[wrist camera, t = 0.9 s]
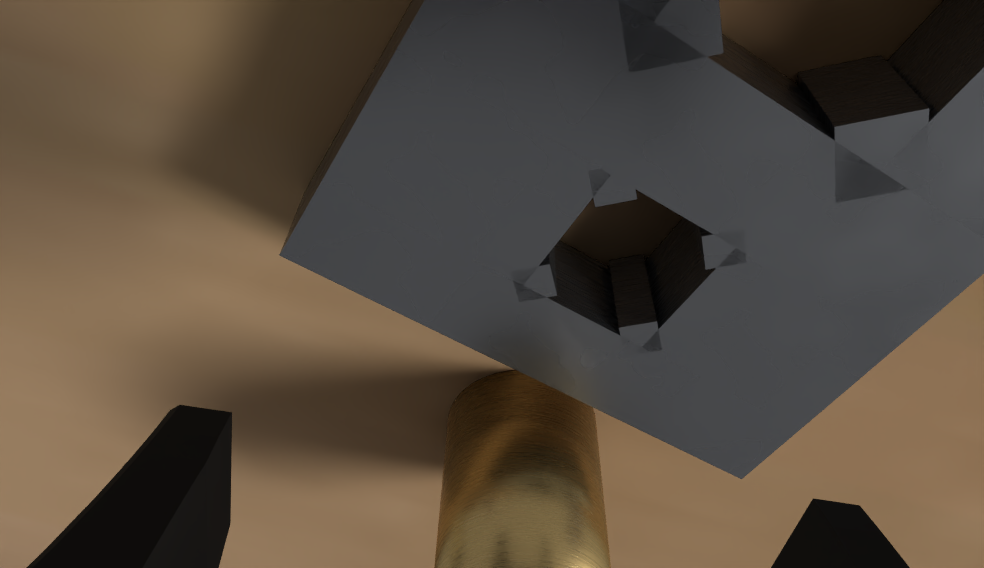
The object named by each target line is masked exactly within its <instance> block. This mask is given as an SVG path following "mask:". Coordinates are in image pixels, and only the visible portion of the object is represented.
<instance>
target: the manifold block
mask: <svg viewBox="0 0 984 568" xmlns="http://www.w3.org/2000/svg"><path fill="white" fill-rule="evenodd" d="M636 190H638V191H640V192H641V193H643V194H645V195H646V196H648V197H650V198H652V199H653V200H655V201H657V202H658V203H660V204H662V205H664V206H665V207H667V208H669V209H670V210H672V211H674V212H676V213H677V214H679V215H681V216H682V217H684V218H683V219H682V220H681V221H680V222H679V223H678V225H677V226H676V227H675V228H674V229H673V230H672V231H671V233H670V234H669V235H668V236H667V237H666V238H665V239H664V241H663V242H662V243H661V244H660V245H659V246H658V247H657V248H656V250H655V251H654V252H653V253H652V254H651V255H650V256H649V258H648V259H647V260H646V261H644V256H643V255H637V256H632V257H626V258H621V259H615V260H609V265H610V268H609V267H607V266H605V265H603V264H602V263H600V262H598V261H596V260H594V259H592V258H591V257H589V256H587V255H585V254H583V253H581V252H580V251H578V250H576V249H574V248H572V247H570V246H569V245H567V244H565V243H563V242H561V241H559V240H560V239H561V237H562V236H563V235H564V233H565V232H566V231H567V230H568V228H569V227H570V226H571V225H572V223H573V222H574V221H575V220H576V218H577V217H578V216H579V215H580V213H581V212H582V211H583V210H584V208H585V207H586V206H587V204H588V203H589V202H590V201H591V199H592V198H593V199H594V204H595V207H599V206H604V205H609V204H615V203H620V202H625V201H631V200H636V199H637V195H636ZM280 256H282V257H284V258H286V259H288V260H290V261H292V262H294V263H296V264H298V265H300V266H302V267H304V268H306V269H309V270H311V271H313V272H315V273H317V274H319V275H321V276H323V277H325V278H327V279H329V280H331V281H333V282H335V283H337V284H340V285H342V286H344V287H346V288H348V289H350V290H352V291H354V292H356V293H358V294H360V295H362V296H364V297H366V298H368V299H371V300H373V301H375V302H377V303H379V304H381V305H383V306H385V307H387V308H389V309H391V310H393V311H395V312H397V313H399V314H402V315H404V316H406V317H408V318H410V319H412V320H414V321H416V322H418V323H420V324H422V325H424V326H426V327H428V328H430V329H432V330H435V331H437V332H439V333H441V334H443V335H445V336H447V337H449V338H451V339H453V340H455V341H457V342H459V343H461V344H463V345H466V346H468V347H470V348H472V349H474V350H476V351H478V352H480V353H482V354H484V355H486V356H488V357H490V358H492V359H494V360H497V361H499V362H501V363H503V364H505V365H507V366H509V367H511V368H513V369H515V370H517V371H519V372H521V373H523V374H525V375H527V376H530V377H532V378H534V379H536V380H538V381H540V382H542V383H544V384H546V385H548V386H550V387H552V388H554V389H556V390H558V391H561V392H563V393H565V394H567V395H569V396H571V397H573V398H575V399H577V400H579V401H581V402H583V403H585V404H587V405H589V406H592V407H594V408H596V409H598V410H600V411H602V412H604V413H606V414H608V415H610V416H612V417H614V418H616V419H618V420H620V421H622V422H625V423H627V424H629V425H631V426H633V427H635V428H637V429H639V430H641V431H643V432H645V433H647V434H649V435H651V436H653V437H656V438H658V439H660V440H662V441H664V442H666V443H668V444H670V445H672V446H674V447H676V448H678V449H680V450H682V451H684V452H687V453H689V454H691V455H693V456H695V457H697V458H699V459H701V460H703V461H705V462H707V463H709V464H711V465H713V466H715V467H717V468H720V469H722V470H724V471H726V472H728V473H730V474H732V475H734V476H736V477H738V478H740V479H742V478H744V477H745V476H746V475H747V474H748V473H749V472H751V471H752V470H753V469H754V468H755V467H756V466H758V465H759V464H760V463H761V462H762V461H764V460H765V459H766V458H767V457H768V456H769V455H771V454H772V453H773V452H774V451H775V450H776V449H778V448H779V447H780V446H781V445H782V444H784V443H785V442H786V441H787V440H788V439H789V438H791V437H792V436H793V435H794V434H795V433H796V432H798V431H799V430H800V429H801V428H802V427H804V426H805V425H806V424H807V423H808V422H809V421H811V420H812V419H813V418H814V417H815V416H816V415H818V414H819V413H820V412H821V411H822V410H824V409H825V408H826V407H827V406H828V405H829V404H831V403H832V402H833V401H834V400H835V399H836V398H838V397H839V396H840V395H841V394H842V393H844V392H845V391H846V390H847V389H848V388H849V387H851V386H852V385H853V384H854V383H855V382H856V381H858V380H859V379H860V378H861V377H862V376H864V375H865V374H866V373H867V372H868V371H869V370H871V369H872V368H873V367H874V366H875V365H876V364H878V363H879V362H880V361H881V360H882V359H884V358H885V357H886V356H887V355H888V354H889V353H891V352H892V351H893V350H894V349H895V348H896V347H898V346H899V345H900V344H901V343H902V342H904V341H905V340H906V339H907V338H908V337H909V336H911V335H912V334H913V333H914V332H915V331H916V330H918V329H919V328H920V327H921V326H922V325H924V324H925V323H926V322H927V321H928V320H929V319H931V318H932V317H933V316H934V315H935V314H936V313H938V312H939V311H940V310H941V309H942V308H944V307H945V306H946V305H947V304H948V303H949V302H951V301H952V300H953V299H954V298H955V297H956V296H958V295H959V294H960V293H961V292H962V291H964V290H965V289H966V288H967V287H968V286H969V285H971V284H972V283H973V282H974V281H975V280H976V279H978V278H979V277H980V276H981V275H982V274H984V0H944V1H943V2H942V3H941V4H940V5H939V6H938V7H937V8H936V9H935V10H934V11H933V12H932V13H931V15H930V16H929V17H928V18H927V19H926V20H925V21H924V22H923V23H922V24H921V25H920V26H919V28H918V29H917V30H916V31H915V32H914V33H913V34H912V35H911V36H910V37H909V38H908V39H907V40H906V42H905V43H904V44H903V45H902V46H901V47H900V48H899V49H898V50H897V51H896V52H895V53H894V54H893V56H892V57H891V58H890V59H889V60H888V61H886V60H885V59H884V58H883V57H882V56H881V55H880V56H875V57H870V58H865V59H860V60H855V61H851V62H846V63H841V64H836V65H831V66H826V67H822V68H817V69H812V70H807V71H802V72H798V84H796V83H795V82H793V81H792V80H790V79H789V78H787V77H786V76H784V75H783V74H781V73H780V72H778V71H777V70H775V69H774V68H772V67H771V66H769V65H768V64H766V63H765V62H763V61H762V60H760V59H759V58H757V57H756V56H754V55H753V54H751V53H750V52H748V51H747V50H745V49H744V48H742V47H741V46H739V45H738V44H736V43H735V42H733V41H732V40H730V39H729V38H727V37H726V36H724V35H723V34H722V30H721V19H720V7H719V0H412V2H411V4H410V6H409V7H408V9H407V11H406V13H405V14H404V16H403V18H402V20H401V22H400V23H399V25H398V27H397V29H396V31H395V32H394V34H393V36H392V38H391V39H390V41H389V43H388V45H387V47H386V48H385V50H384V52H383V54H382V55H381V57H380V59H379V61H378V63H377V64H376V66H375V68H374V70H373V72H372V73H371V75H370V77H369V79H368V80H367V82H366V84H365V86H364V88H363V89H362V91H361V93H360V95H359V96H358V98H357V100H356V102H355V104H354V105H353V107H352V109H351V111H350V113H349V114H348V116H347V118H346V120H345V121H344V123H343V125H342V127H341V129H340V130H339V132H338V134H337V136H336V137H335V139H334V141H333V143H332V145H331V146H330V148H329V150H328V152H327V154H326V155H325V157H324V159H323V161H322V162H321V164H320V166H319V168H318V170H317V171H316V173H315V175H314V177H313V178H312V180H311V182H310V184H309V186H308V187H307V189H306V191H305V193H304V195H303V198H302V200H301V203H300V205H299V208H298V210H297V213H296V215H295V218H294V220H293V223H292V225H291V228H290V230H289V233H288V235H287V238H286V240H285V243H284V245H283V248H282V250H281V253H280Z"/></svg>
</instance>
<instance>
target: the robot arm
mask: <svg viewBox="0 0 984 568" xmlns="http://www.w3.org/2000/svg"><path fill="white" fill-rule="evenodd" d="M231 442H232V412H225V411H218V410H211V409H204V408H198V407H191V406H184V405H179V406H177V407H175V408H173V409H172V410H170V411H169V412H168V414H167V415H166V416H165V417H164V419H163V420H162V421H161V422H160V424H159V425H158V426H157V427H156V429H155V430H154V431H153V432H152V434H151V435H150V436H149V437H148V438H147V440H146V441H145V442H144V443H143V444H142V446H141V447H140V448H139V449H138V450H137V451H136V453H135V454H134V455H133V456H132V457H131V458H130V459H129V461H128V462H127V463H126V464H125V465H124V466H123V467H122V469H121V470H120V471H119V472H118V473H117V474H116V475H115V476H114V477H113V479H112V480H111V481H110V482H109V483H108V484H107V485H106V486H105V487H104V488H103V490H102V491H101V492H100V493H99V494H98V495H97V496H96V497H95V498H94V499H93V500H92V501H91V503H90V504H89V505H88V506H87V507H86V508H85V509H84V510H83V511H82V512H81V513H80V514H79V515H78V516H77V517H76V518H75V519H74V520H73V521H72V522H71V523H70V524H69V525H68V526H67V527H66V528H65V530H64V531H63V532H62V533H61V534H60V535H59V536H58V537H57V538H56V539H55V540H54V541H53V542H52V543H51V544H50V545H49V546H48V547H47V548H46V549H45V550H44V551H43V552H42V553H41V554H40V555H39V556H38V557H37V558H36V559H35V560H34V561H33V562H32V563H31V564H30V565H29V566H28V567H27V568H218V567H219V564H220V560H221V556H222V553H223V549H224V545H225V542H226V538H227V534H228V530H229V527H230V512H231ZM771 568H909V566H908V565H907V564H906V562H905V561H904V560H903V559H902V557H901V556H900V555H899V554H898V552H897V551H896V550H895V549H894V547H893V546H892V545H891V543H890V542H889V541H888V540H887V538H886V537H885V536H884V535H883V533H882V532H881V531H880V530H879V528H878V527H877V526H876V525H875V524H874V522H873V521H872V520H871V519H870V517H869V516H868V515H867V514H866V513H865V511H864V510H863V509H862V508H861V507H860V506H859V505H853V504H846V503H840V502H833V501H826V500H819V499H813V500H812V501H811V503H810V505H809V506H808V508H807V510H806V511H805V513H804V514H803V516H802V518H801V519H800V521H799V523H798V524H797V526H796V528H795V529H794V531H793V533H792V534H791V536H790V537H789V539H788V541H787V542H786V544H785V546H784V547H783V549H782V551H781V552H780V554H779V556H778V557H777V559H776V560H775V562H774V564H773V565H772V567H771Z"/></svg>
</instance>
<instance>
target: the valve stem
mask: <svg viewBox="0 0 984 568" xmlns="http://www.w3.org/2000/svg"><path fill="white" fill-rule="evenodd" d="M434 568H611V565H610V555H609V545H608V535H607V525H606V516H605V506H604V496H603V486H602V476H601V466H600V457H599V447H598V437H597V427H596V418H595V413H594V410H593V407H592V406H589V405H587V404H585V403H583V402H581V401H579V400H577V399H575V398H573V397H571V396H569V395H567V394H565V393H563V392H561V391H558V390H556V389H554V388H552V387H550V386H548V385H546V384H544V383H542V382H540V381H538V380H536V379H534V378H532V377H530V376H527V375H525V374H523V373H521V372H519V371H517V370H514V371H505V372H501V373H496V374H493V375H490V376H487V377H484V378H482V379H480V380H478V381H476V382H474V383H473V384H471V385H470V386H468V387H467V388H466V389H465V390H463V391H462V393H461V394H460V395H459V396H458V397H457V398H456V400H455V401H454V403H453V405H452V407H451V409H450V412H449V416H448V426H447V437H446V448H445V459H444V469H443V480H442V491H441V502H440V513H439V524H438V535H437V545H436V556H435V567H434Z"/></svg>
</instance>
